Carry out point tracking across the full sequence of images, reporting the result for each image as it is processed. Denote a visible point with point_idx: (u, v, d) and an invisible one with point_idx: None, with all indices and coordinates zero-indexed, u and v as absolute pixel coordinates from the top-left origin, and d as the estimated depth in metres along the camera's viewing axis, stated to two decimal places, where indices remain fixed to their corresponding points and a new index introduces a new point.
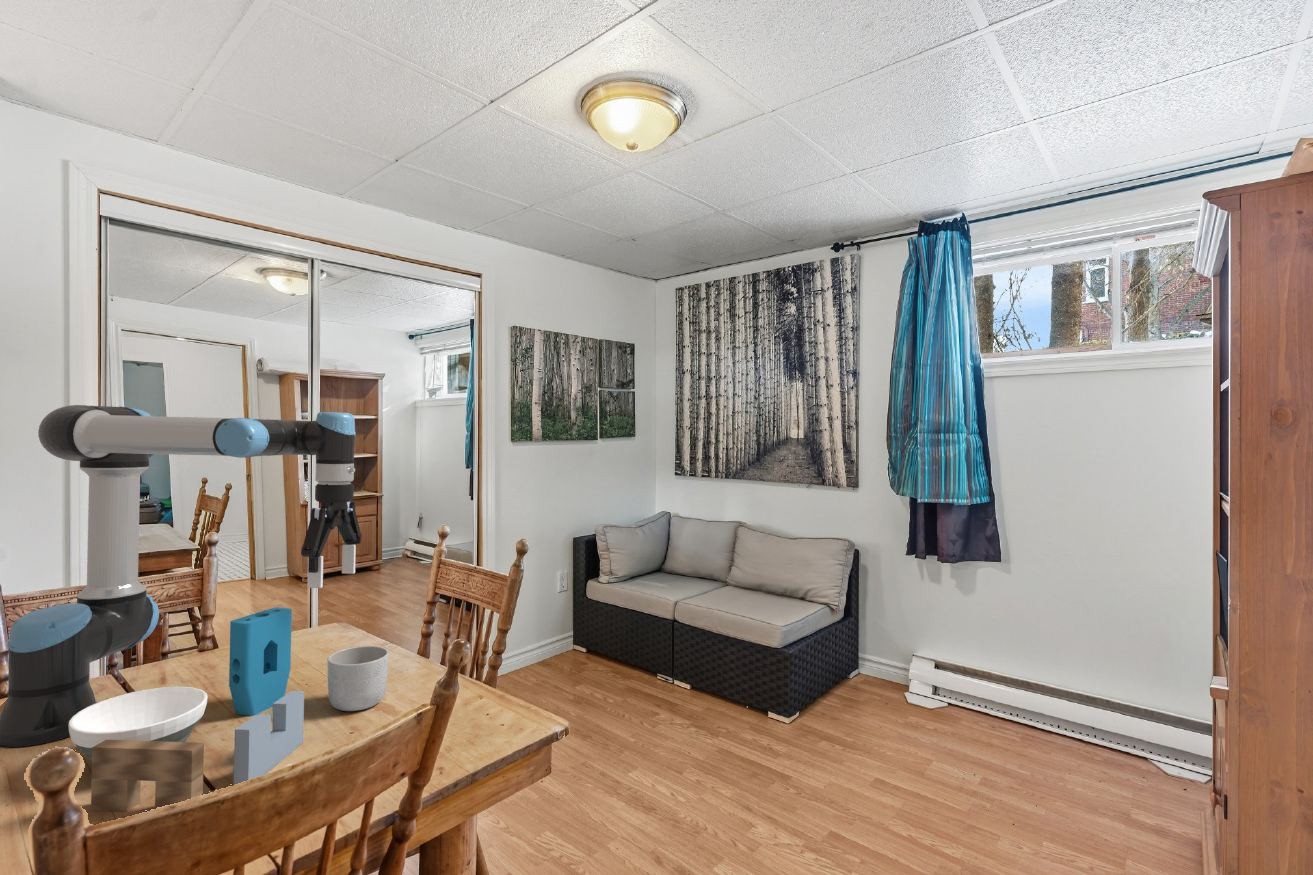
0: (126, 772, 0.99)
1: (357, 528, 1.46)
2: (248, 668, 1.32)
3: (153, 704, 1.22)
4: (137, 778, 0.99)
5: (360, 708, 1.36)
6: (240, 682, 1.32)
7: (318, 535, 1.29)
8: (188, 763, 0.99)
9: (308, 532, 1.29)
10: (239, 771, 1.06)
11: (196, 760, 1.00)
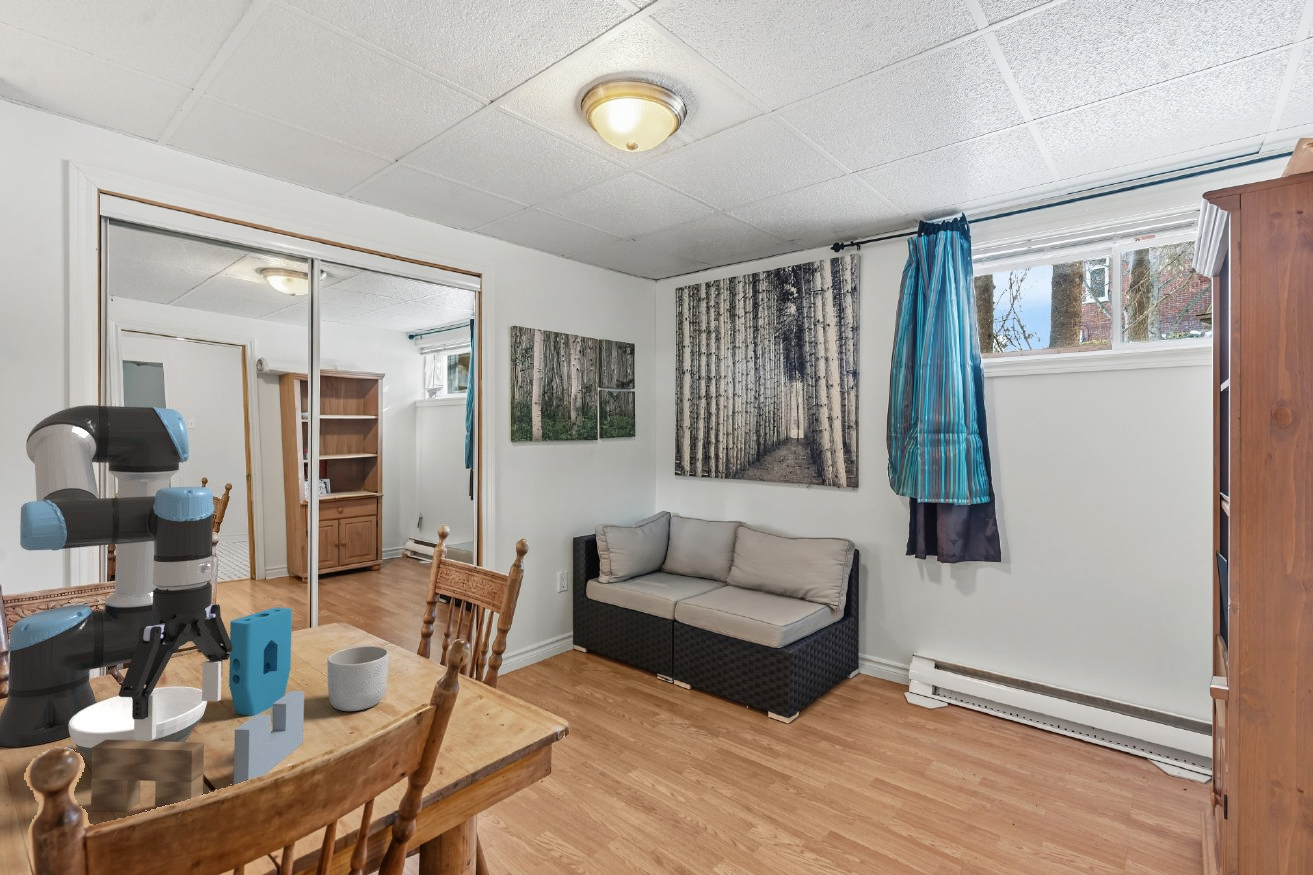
0: (126, 772, 0.99)
1: (225, 638, 1.08)
2: (248, 668, 1.32)
3: None
4: (137, 778, 0.99)
5: (360, 708, 1.36)
6: (240, 682, 1.32)
7: (145, 666, 0.92)
8: (188, 763, 0.99)
9: (132, 662, 0.92)
10: (239, 771, 1.06)
11: (196, 760, 1.00)
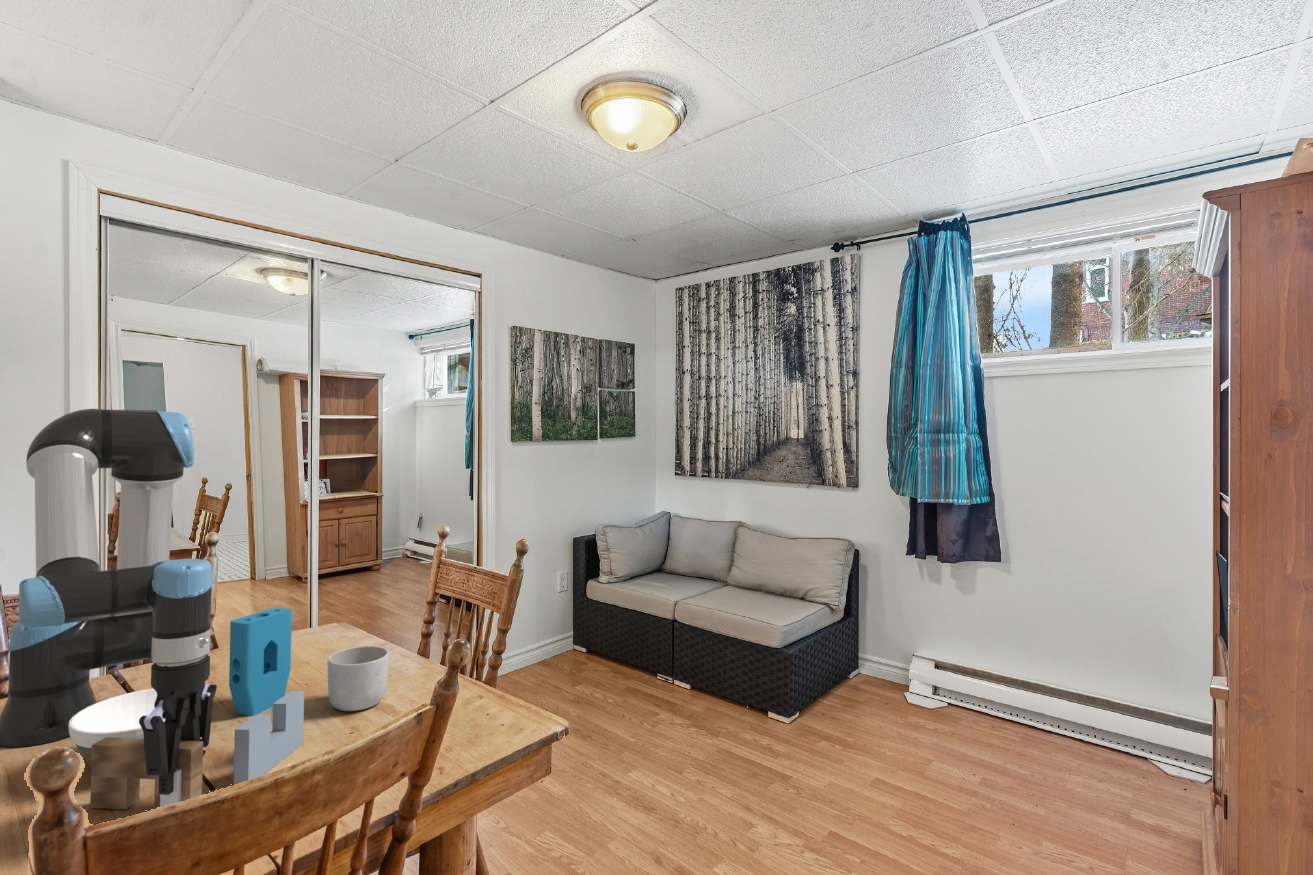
0: (125, 770, 0.99)
1: (207, 727, 1.05)
2: (248, 668, 1.32)
3: (153, 704, 1.22)
4: (136, 776, 0.99)
5: (360, 708, 1.36)
6: (240, 682, 1.32)
7: (161, 751, 0.95)
8: (188, 762, 0.99)
9: (147, 748, 0.95)
10: (239, 771, 1.06)
11: (195, 759, 1.00)
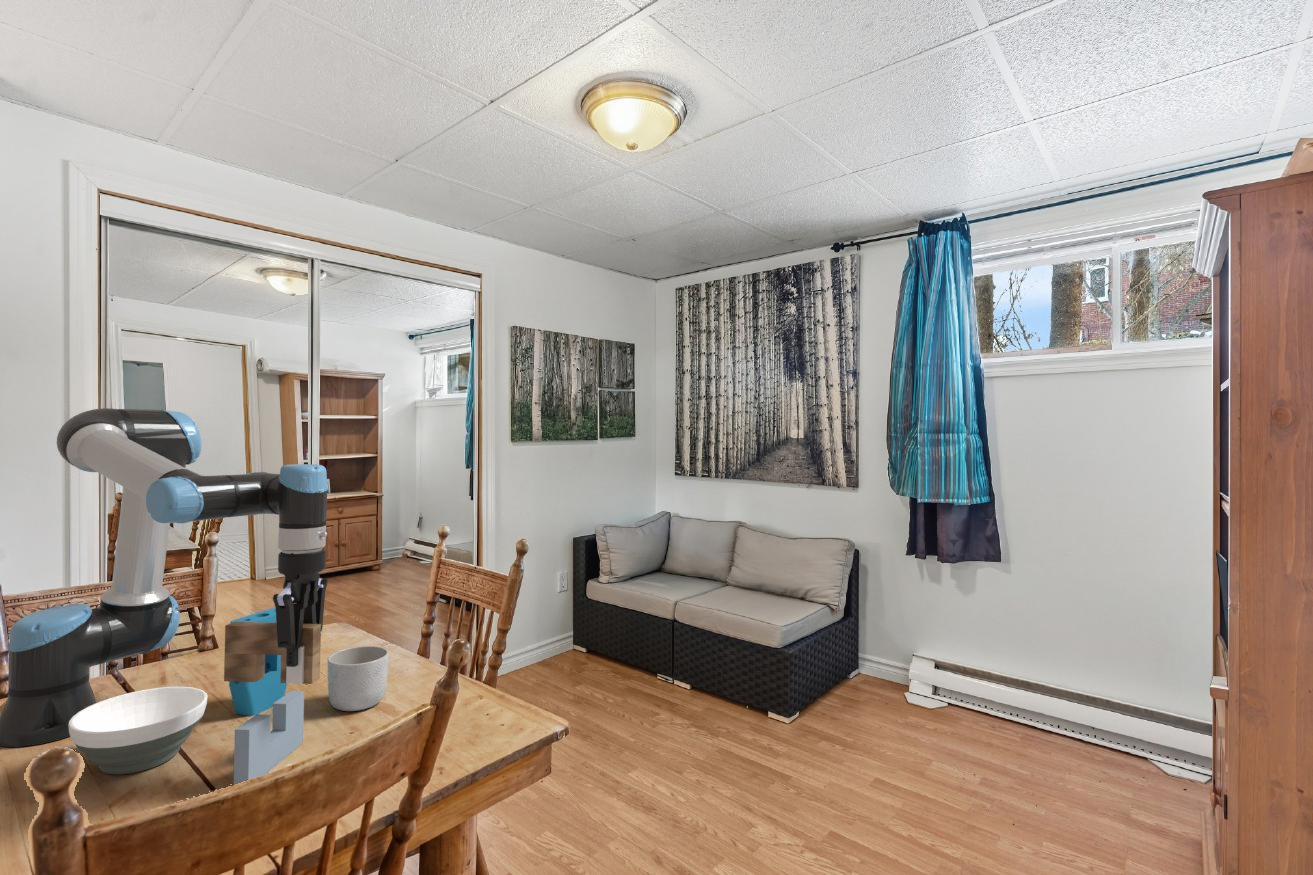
0: (255, 647, 1.13)
1: (321, 614, 1.19)
2: None
3: (153, 704, 1.22)
4: (265, 652, 1.13)
5: (360, 708, 1.36)
6: (240, 682, 1.32)
7: (290, 626, 1.09)
8: (310, 639, 1.13)
9: (278, 623, 1.09)
10: (239, 771, 1.06)
11: (316, 638, 1.14)
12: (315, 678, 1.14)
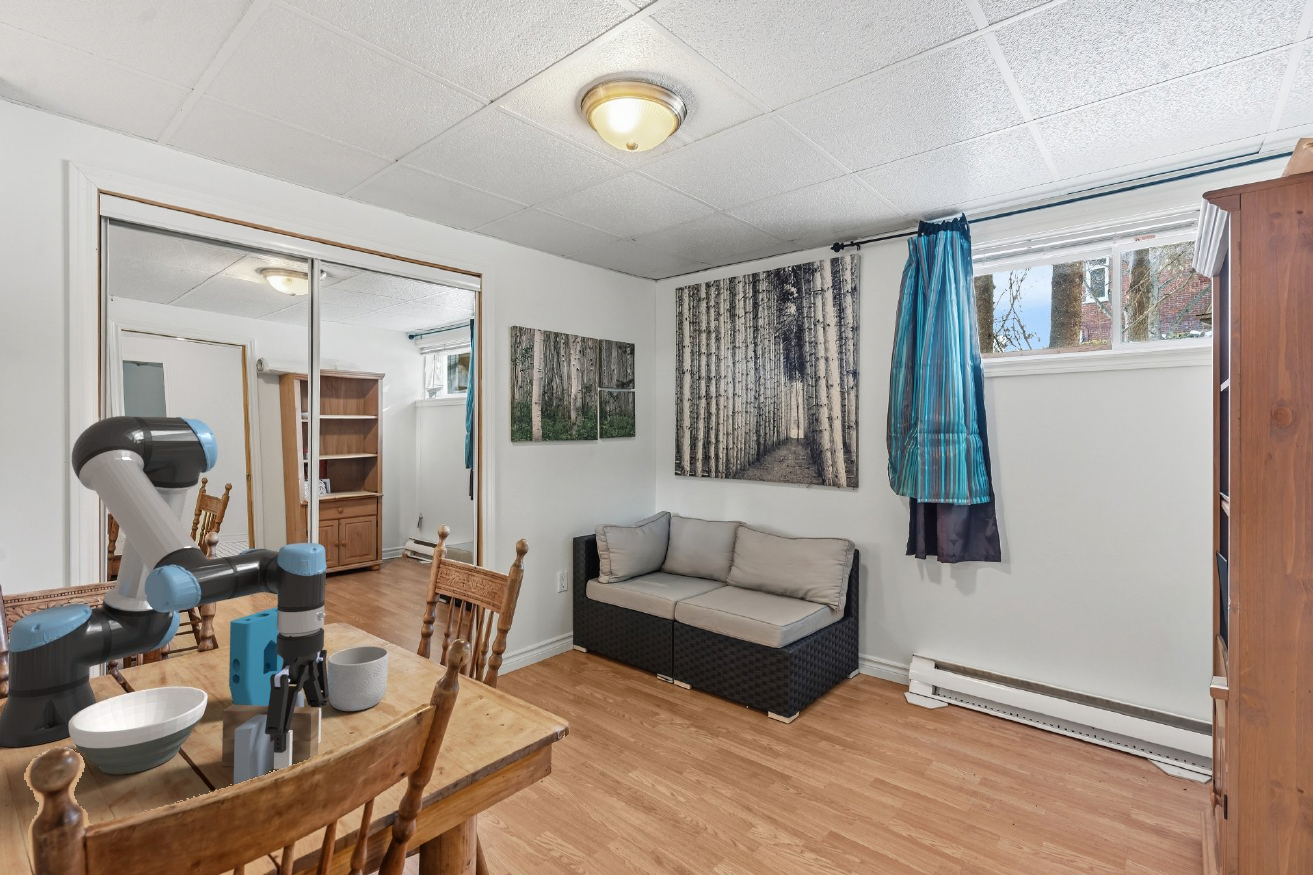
0: None
1: (325, 683, 1.21)
2: (248, 668, 1.32)
3: (153, 704, 1.22)
4: None
5: (360, 708, 1.36)
6: (240, 682, 1.32)
7: (282, 709, 1.07)
8: (308, 724, 1.13)
9: (270, 706, 1.07)
10: (239, 771, 1.06)
11: (314, 722, 1.14)
12: None
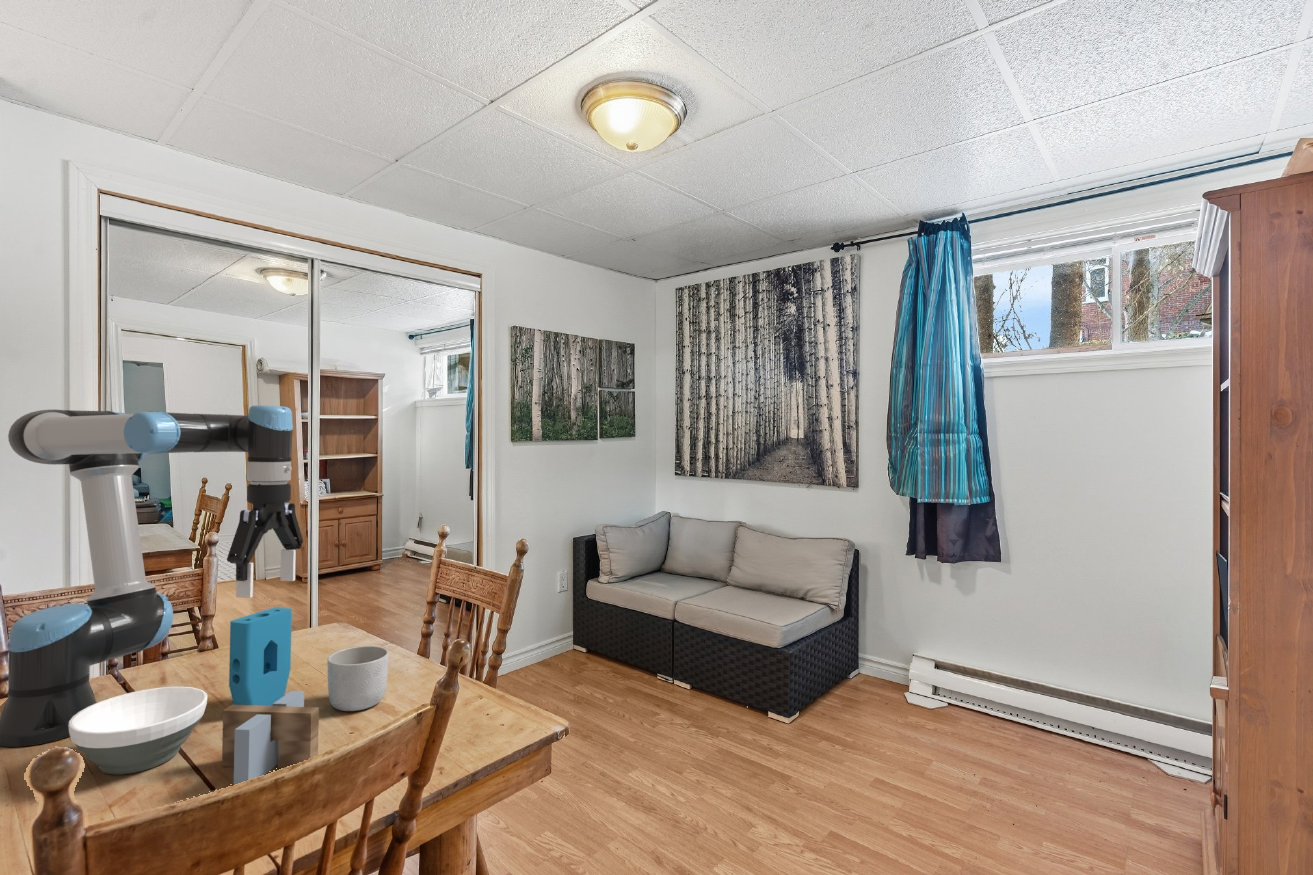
0: None
1: (298, 532, 1.35)
2: (248, 668, 1.32)
3: (153, 704, 1.22)
4: None
5: (360, 708, 1.36)
6: (240, 682, 1.32)
7: (246, 539, 1.18)
8: (308, 724, 1.13)
9: (236, 536, 1.18)
10: (239, 771, 1.06)
11: (314, 722, 1.14)
12: None
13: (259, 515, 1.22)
